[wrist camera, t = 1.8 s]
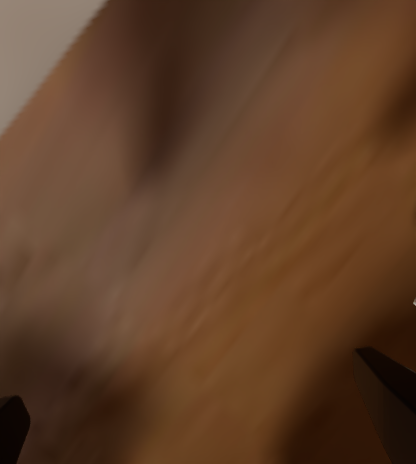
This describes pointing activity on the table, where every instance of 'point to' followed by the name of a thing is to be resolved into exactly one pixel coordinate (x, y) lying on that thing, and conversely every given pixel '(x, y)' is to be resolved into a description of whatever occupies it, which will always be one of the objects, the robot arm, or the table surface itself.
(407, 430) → the robot arm
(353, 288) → the table surface
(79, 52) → the table surface
